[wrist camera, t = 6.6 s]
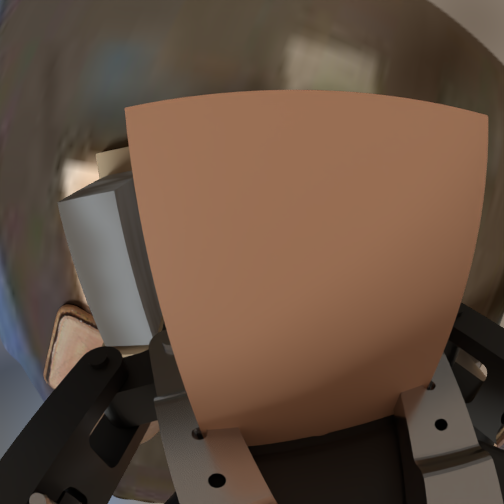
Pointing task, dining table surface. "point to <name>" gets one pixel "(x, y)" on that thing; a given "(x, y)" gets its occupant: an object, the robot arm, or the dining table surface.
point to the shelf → (113, 255)
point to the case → (75, 349)
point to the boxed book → (306, 249)
